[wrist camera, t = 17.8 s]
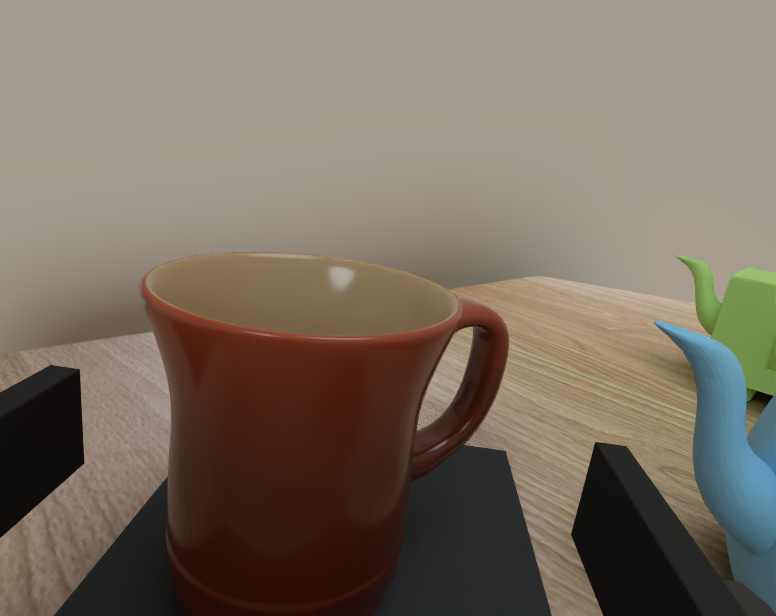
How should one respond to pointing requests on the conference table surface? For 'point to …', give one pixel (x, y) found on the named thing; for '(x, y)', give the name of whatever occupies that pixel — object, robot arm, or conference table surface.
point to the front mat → (415, 563)
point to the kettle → (741, 320)
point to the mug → (304, 423)
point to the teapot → (734, 460)
